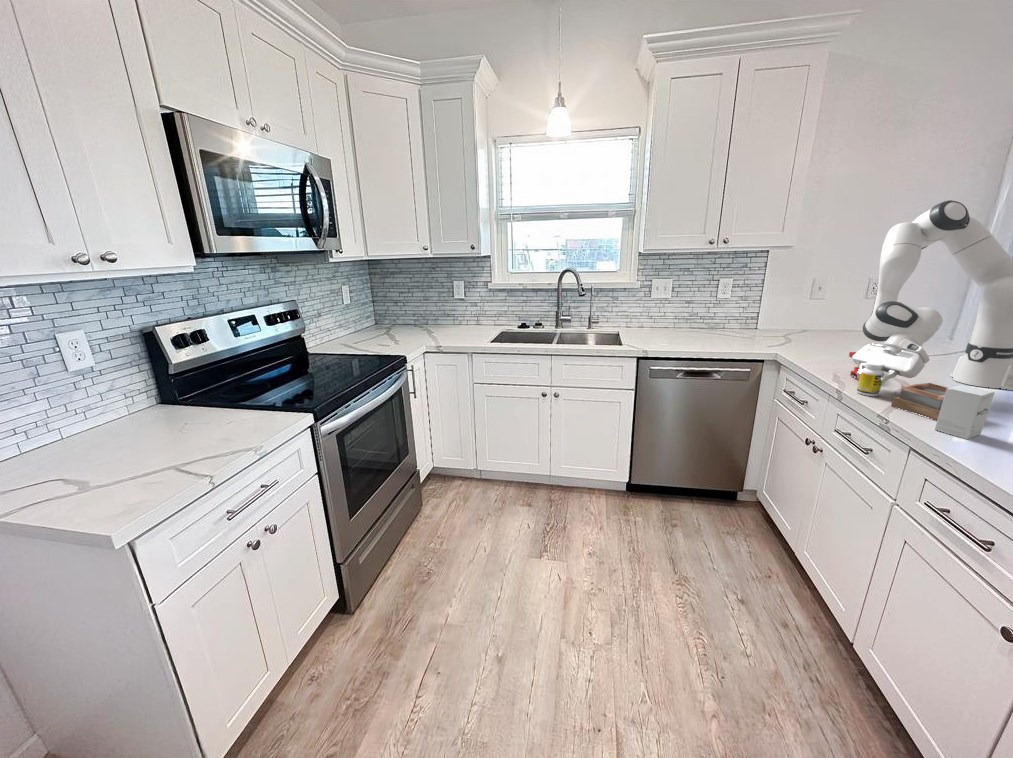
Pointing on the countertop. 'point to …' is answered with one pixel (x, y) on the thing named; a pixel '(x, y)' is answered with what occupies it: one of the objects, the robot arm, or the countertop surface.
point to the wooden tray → (921, 399)
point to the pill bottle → (870, 379)
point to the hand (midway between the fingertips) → (869, 378)
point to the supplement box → (964, 411)
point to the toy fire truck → (856, 369)
